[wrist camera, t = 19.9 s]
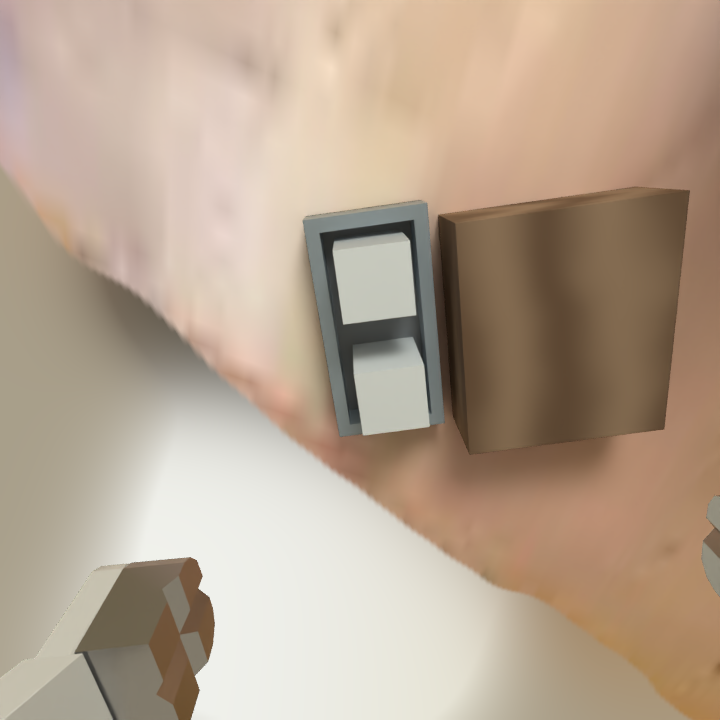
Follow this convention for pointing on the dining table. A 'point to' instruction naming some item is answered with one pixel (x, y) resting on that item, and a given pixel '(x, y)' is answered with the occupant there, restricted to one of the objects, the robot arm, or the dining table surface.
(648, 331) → the square brown board
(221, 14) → the dining table surface
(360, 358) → the off-white small block
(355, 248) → the white block
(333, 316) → the tray
